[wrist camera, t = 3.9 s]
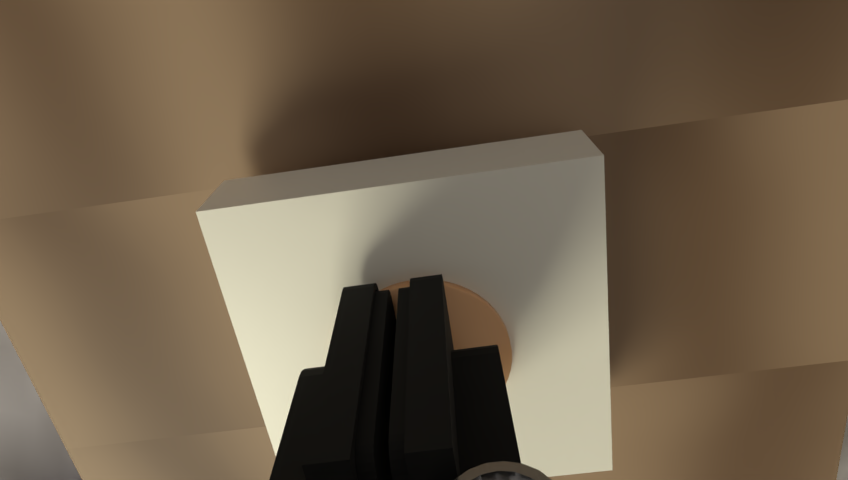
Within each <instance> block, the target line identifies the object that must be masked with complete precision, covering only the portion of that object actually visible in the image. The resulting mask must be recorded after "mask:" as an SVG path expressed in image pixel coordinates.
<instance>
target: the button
mask: <svg viewBox="0 0 848 480" xmlns="http://www.w3.org/2000/svg"><path fill="white" fill-rule="evenodd" d="M196 215H197V218H198V221H199V224H200V227H201V230H202V233H203V236H204V239H205V242H206V245H207V248H208V251H209V254H210V257H211V260H212V264H213V267H214V270H215V273H216V276H217V279H218V282H219V285H220V288H221V291H222V294H223V297H224V300H225V303H226V306H227V309H228V312H229V315H230V318H231V321H232V325H233V328H234V331H235V334H236V337H237V340H238V343H239V346H240V349H241V352H242V355H243V358H244V361H245V364H246V367H247V370H248V373H249V376H250V379H251V382H252V386H253V389H254V392H255V395H256V398H257V401H258V404H259V407H260V410H261V413H262V416H263V419H264V422H265V425H266V428H267V431H268V434H269V437H270V440H271V443H272V447H273V450H274V453H275V456H276V455H277V451H278V448H279V444H280V441H281V437H282V434H283V430H284V427H285V423H286V420H287V416H288V413H289V409H290V406H291V402H292V399H293V396H294V392H295V389H296V385H297V382H298V378H299V375H300V373H301V371H302V370H304V369H306V368H314V367H322V366H325V363H326V358H327V354H328V350H329V345H330V341H331V337H332V332H333V328H334V324H335V320H336V315H337V311H338V307H339V302H340V298H341V294H342V290H343V287H349V286H356V285H364V284H372V283H376V284H377V286H378V289H379V291H383V290H390V293H391V297H392V301H393V306H394V312H395V317H397V302H398V289H399V288H405V287H410V278H417V277H424V276H432V275H439V274H442V276H443V282H444V288H445V295H446V301H447V308H448V314H449V321H450V327H451V334H452V340H453V347H454V350H458V349H466V348H474V347H482V346H490V345H498V348H499V353H500V358H501V363H502V368H503V373H504V378H505V383H506V388H507V394H508V399H509V404H510V409H511V414H512V419H513V424H514V429H515V434H516V439H517V445H518V450H519V455H520V460H521V463H523V464H525V465H528V466H530V467H533V468H535V469H538V470H540V471H541V472H542V473H544V474H545V475H546V476H547V477H552V476H562V475H571V474H581V473H591V472H600V471H610V470H612V433H611V396H610V359H609V321H608V284H607V247H606V210H605V173H604V155H603V153H602V152H601V151H600V150H599V149H598V148H597V147H596V146H595V144H594V143H593V142H592V141H591V140H590V139H589V138H588V137H587V135H586V134H585V133H584V132H583V131H582V130H576V131H569V132H562V133H555V134H548V135H541V136H534V137H527V138H520V139H513V140H506V141H499V142H492V143H485V144H478V145H471V146H464V147H457V148H450V149H443V150H435V151H428V152H421V153H414V154H407V155H400V156H393V157H386V158H379V159H372V160H365V161H358V162H351V163H344V164H337V165H330V166H323V167H316V168H309V169H302V170H295V171H288V172H280V173H273V174H266V175H259V176H252V177H245V178H238V179H231V180H224V181H223V182H222V183H221V185H220V186H219V187H218V188H217V189H216V190H215V191H214V192H213V193H212V194H211V196H210V197H209V198H208V199H207V200H206V201H205V202H204V203H203V204H202V205H201V206H200V208H199V209H198V210H197V211H196Z"/></svg>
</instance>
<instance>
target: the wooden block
mask: <svg viewBox="0 0 848 480" xmlns="http://www.w3.org/2000/svg"><path fill="white" fill-rule="evenodd" d="M576 130H582V131H583V132H584V133H585V134H586V135H587V137H588V138H589V139H590V140H591V141H592V142H593V143H594V144H595V146H596V147H597V148H598V149H599V150H600V151H601V152H602V153H603V155H604V173H605V210H606V247H607V284H608V321H609V359H610V396H611V433H612V470H610V471H600V472H591V473H581V474H571V475H562V476H552V477H549V478H550V479H551V480H836V477H837V472H838V466H839V460H840V455H841V449H842V443H843V438H844V432H845V426H846V421H847V415H848V0H0V321H1V323H2V325H3V327H4V328H5V330H6V332H7V334H8V336H9V338H10V340H11V342H12V344H13V346H14V348H15V350H16V352H17V354H18V356H19V358H20V360H21V362H22V364H23V366H24V368H25V369H26V371H27V373H28V375H29V377H30V379H31V381H32V383H33V385H34V387H35V389H36V391H37V393H38V395H39V397H40V399H41V401H42V403H43V405H44V407H45V409H46V410H47V412H48V414H49V416H50V418H51V420H52V422H53V424H54V426H55V428H56V430H57V432H58V434H59V436H60V438H61V440H62V442H63V444H64V446H65V448H66V450H67V452H68V453H69V455H70V457H71V459H72V461H73V463H74V465H75V467H76V469H77V471H78V473H79V475H80V477H81V479H82V480H269V479H270V476H271V472H272V469H273V465H274V462H275V458H276V456H275V453H274V450H273V447H272V443H271V440H270V437H269V434H268V431H267V428H266V425H265V422H264V419H263V416H262V413H261V410H260V407H259V404H258V401H257V398H256V395H255V392H254V389H253V386H252V382H251V379H250V376H249V373H248V370H247V367H246V364H245V361H244V358H243V355H242V352H241V349H240V346H239V343H238V340H237V337H236V334H235V331H234V328H233V325H232V321H231V318H230V315H229V312H228V309H227V306H226V303H225V300H224V297H223V294H222V291H221V288H220V285H219V282H218V279H217V276H216V273H215V270H214V267H213V264H212V260H211V257H210V254H209V251H208V248H207V245H206V242H205V239H204V236H203V233H202V230H201V227H200V224H199V221H198V218H197V215H196V211H197V210H198V209H199V208H200V206H201V205H202V204H203V203H204V202H205V201H206V200H207V199H208V198H209V197H210V196H211V194H212V193H213V192H214V191H215V190H216V189H217V188H218V187H219V186H220V185H221V183H222V182H223V181H224V180H231V179H238V178H245V177H252V176H259V175H266V174H273V173H280V172H288V171H295V170H302V169H309V168H316V167H323V166H330V165H337V164H344V163H351V162H358V161H365V160H372V159H379V158H386V157H393V156H400V155H407V154H414V153H421V152H428V151H435V150H443V149H450V148H457V147H464V146H471V145H478V144H485V143H492V142H499V141H506V140H513V139H520V138H527V137H534V136H541V135H548V134H555V133H562V132H569V131H576Z"/></svg>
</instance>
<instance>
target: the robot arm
mask: <svg viewBox="0 0 848 480" xmlns="http://www.w3.org/2000/svg"><path fill="white" fill-rule="evenodd" d="M269 480H551V479H550V478H549V477H547V476H546V475H545V474H544V473H542V472H541V471H540V470H538V469H535V468H533V467H530V466H528V465H525V464H523V463H521V460H520V455H519V450H518V445H517V439H516V434H515V429H514V424H513V419H512V414H511V409H510V404H509V399H508V394H507V388H506V383H505V378H504V373H503V368H502V363H501V358H500V353H499V348H498V345H490V346H482V347H474V348H466V349H458V350H454V347H453V340H452V334H451V327H450V321H449V314H448V308H447V301H446V295H445V288H444V282H443V276H442V274H439V275H432V276H424V277H417V278H410V287H405V288H399V289H398V302H397V317H395V312H394V306H393V301H392V297H391V293H390V290H383V291H379V289H378V286H377V284H376V283H372V284H364V285H356V286H349V287H343V290H342V294H341V298H340V302H339V307H338V311H337V315H336V320H335V324H334V328H333V332H332V337H331V341H330V345H329V350H328V354H327V358H326V363H325V366H322V367H314V368H306V369H304V370H302V371H301V373H300V375H299V378H298V382H297V385H296V389H295V392H294V396H293V399H292V402H291V406H290V409H289V413H288V416H287V420H286V423H285V427H284V430H283V434H282V437H281V441H280V444H279V448H278V451H277V455H276V458H275V462H274V465H273V469H272V472H271V476H270V479H269Z"/></svg>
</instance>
